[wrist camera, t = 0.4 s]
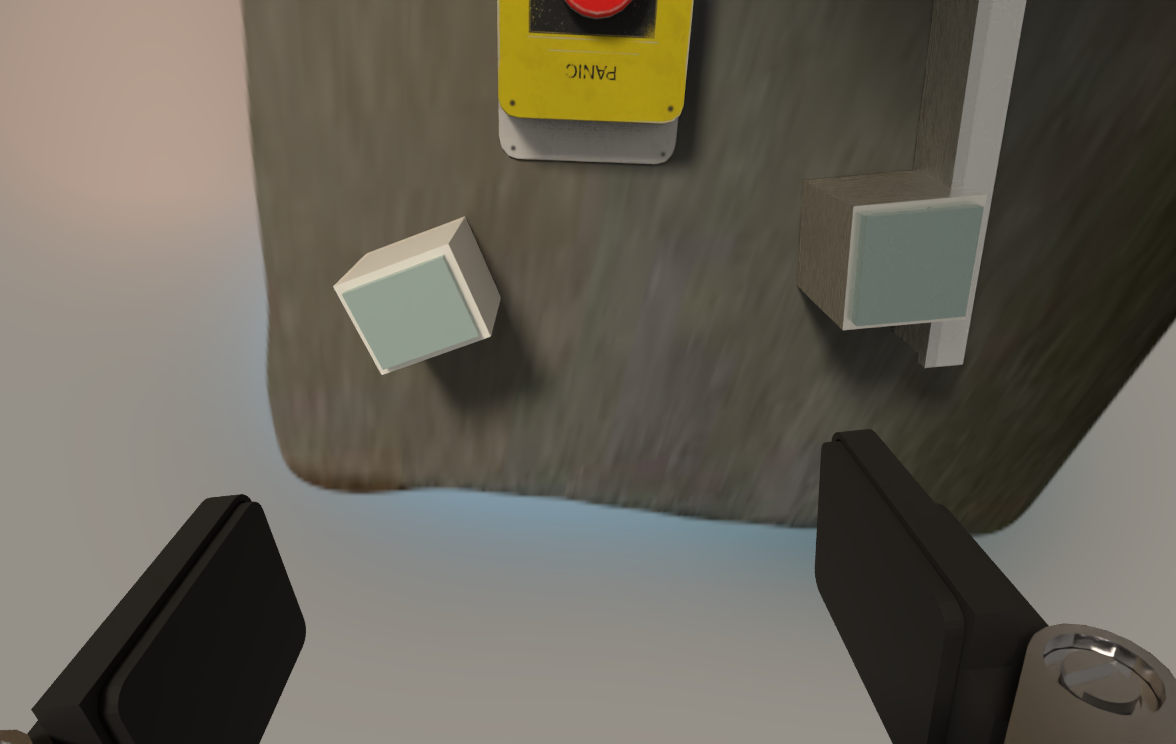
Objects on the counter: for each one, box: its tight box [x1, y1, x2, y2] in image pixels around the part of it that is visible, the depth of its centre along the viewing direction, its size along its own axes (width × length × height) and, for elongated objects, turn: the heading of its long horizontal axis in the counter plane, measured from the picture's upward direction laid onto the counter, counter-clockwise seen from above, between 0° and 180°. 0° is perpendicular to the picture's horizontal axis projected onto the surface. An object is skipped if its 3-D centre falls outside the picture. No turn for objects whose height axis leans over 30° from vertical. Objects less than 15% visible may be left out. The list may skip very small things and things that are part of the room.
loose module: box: [333, 217, 501, 375], centre depth 35 cm, size 5×6×6 cm
